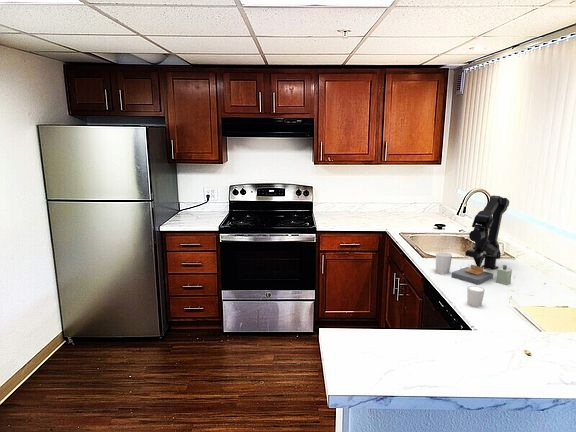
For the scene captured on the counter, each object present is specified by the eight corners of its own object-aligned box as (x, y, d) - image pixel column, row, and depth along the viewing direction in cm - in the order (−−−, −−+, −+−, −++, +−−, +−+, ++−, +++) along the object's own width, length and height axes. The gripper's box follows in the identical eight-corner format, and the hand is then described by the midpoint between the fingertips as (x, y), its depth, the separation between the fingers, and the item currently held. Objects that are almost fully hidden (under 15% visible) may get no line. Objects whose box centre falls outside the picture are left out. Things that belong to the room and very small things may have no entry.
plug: (500, 280, 203) (502, 263, 201) (510, 283, 199) (512, 265, 197) (495, 282, 200) (497, 265, 199) (506, 285, 196) (508, 267, 195)
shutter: (470, 268, 212) (471, 264, 211) (483, 272, 206) (484, 267, 206) (464, 271, 208) (464, 266, 207) (477, 275, 202) (478, 270, 202)
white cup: (451, 275, 210) (453, 256, 208) (435, 274, 212) (437, 255, 210) (448, 270, 218) (450, 252, 216) (433, 269, 220) (435, 251, 218)
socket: (467, 271, 217) (467, 266, 216) (493, 278, 206) (493, 273, 205) (451, 276, 208) (451, 272, 207) (477, 284, 197) (478, 280, 196)
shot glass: (462, 300, 178) (464, 285, 176) (477, 300, 178) (479, 285, 177) (471, 307, 171) (472, 291, 170) (486, 306, 172) (488, 291, 170)
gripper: (487, 244, 194) (484, 275, 197) (506, 238, 205) (503, 268, 208) (466, 239, 203) (463, 269, 206) (484, 234, 214) (482, 262, 217)
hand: (478, 267), depth 209 cm, fingers closed
